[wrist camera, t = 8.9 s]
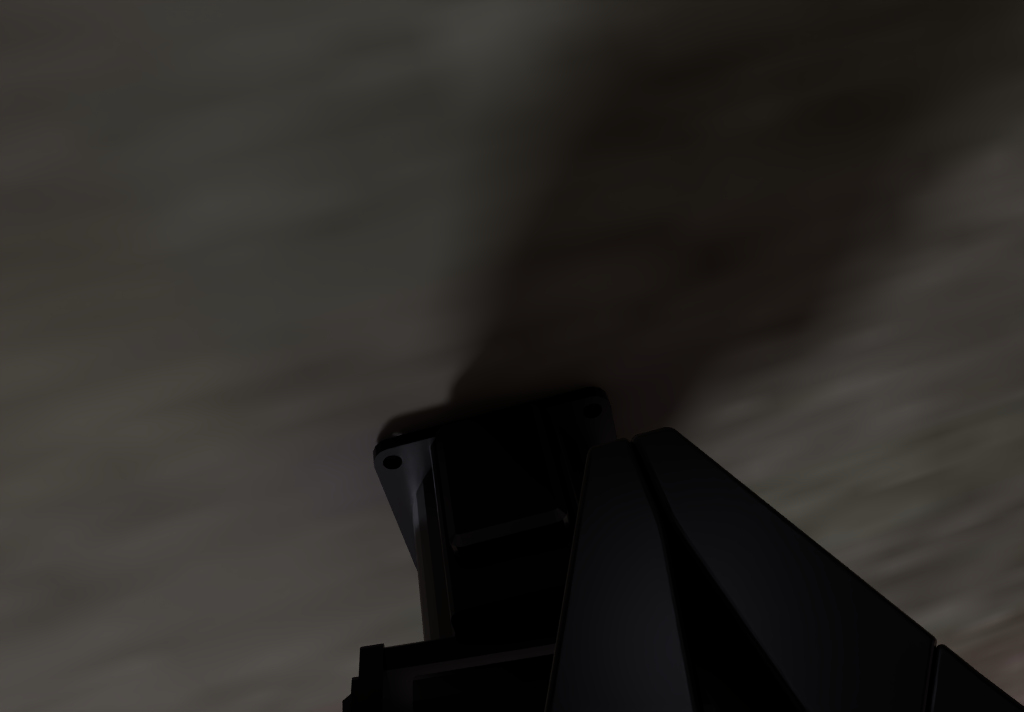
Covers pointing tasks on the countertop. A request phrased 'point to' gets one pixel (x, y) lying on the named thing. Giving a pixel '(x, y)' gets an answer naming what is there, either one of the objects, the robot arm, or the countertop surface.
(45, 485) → the countertop surface
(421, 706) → the robot arm
